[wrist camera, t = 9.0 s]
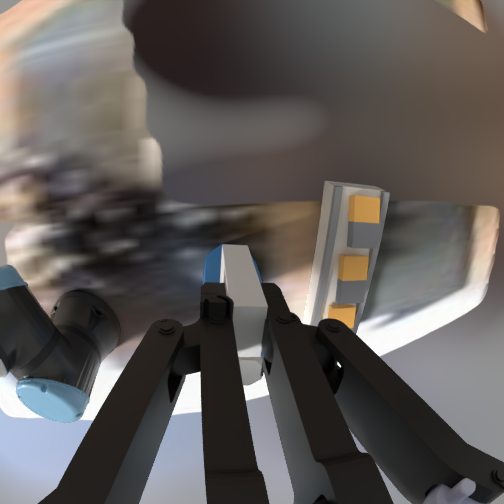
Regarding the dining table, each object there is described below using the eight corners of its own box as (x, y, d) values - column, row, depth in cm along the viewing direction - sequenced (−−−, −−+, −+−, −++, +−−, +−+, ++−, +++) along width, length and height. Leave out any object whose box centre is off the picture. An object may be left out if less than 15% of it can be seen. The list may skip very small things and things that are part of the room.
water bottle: (260, 284, 55) (293, 389, 32) (210, 296, 54) (214, 406, 31) (250, 236, 51) (282, 329, 28) (195, 250, 50) (187, 351, 28)
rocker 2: (335, 300, 50) (339, 304, 48) (339, 254, 49) (344, 256, 47) (358, 299, 51) (363, 302, 49) (363, 254, 50) (368, 256, 48)
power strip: (301, 329, 60) (307, 345, 55) (324, 180, 48) (336, 186, 44) (345, 326, 61) (353, 340, 57) (375, 186, 50) (390, 192, 45)
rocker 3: (324, 345, 54) (328, 349, 52) (328, 305, 53) (333, 308, 51) (346, 343, 55) (350, 347, 53) (351, 304, 54) (356, 307, 52)
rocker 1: (346, 246, 46) (352, 248, 44) (349, 195, 45) (355, 195, 43) (371, 247, 47) (377, 248, 45) (373, 198, 46) (380, 197, 44)
